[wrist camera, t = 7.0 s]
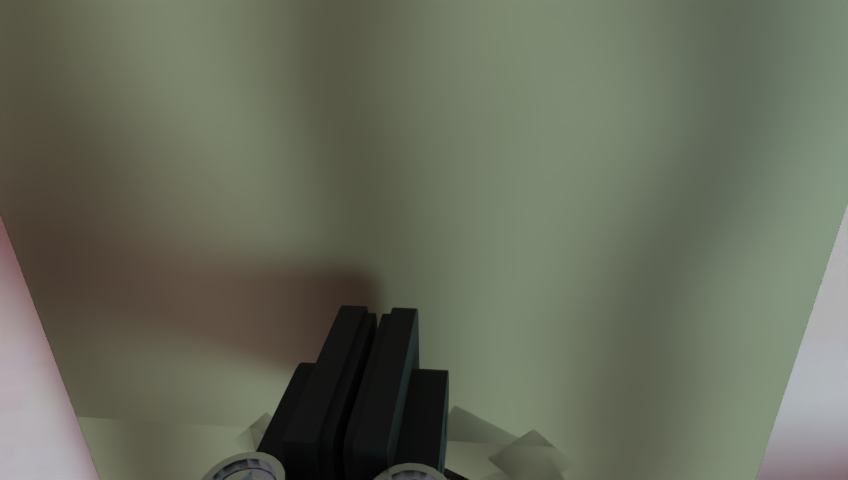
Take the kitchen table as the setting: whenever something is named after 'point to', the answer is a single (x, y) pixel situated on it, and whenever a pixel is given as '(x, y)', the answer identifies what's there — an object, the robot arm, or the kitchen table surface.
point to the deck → (429, 216)
